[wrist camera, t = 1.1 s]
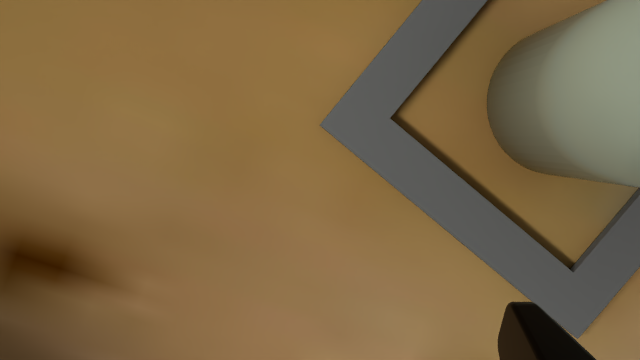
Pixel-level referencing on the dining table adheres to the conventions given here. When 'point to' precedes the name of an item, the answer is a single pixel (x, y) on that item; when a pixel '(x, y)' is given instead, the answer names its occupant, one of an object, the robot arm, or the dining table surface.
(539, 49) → the sage cup
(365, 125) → the dot frame
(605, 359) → the dining table surface
